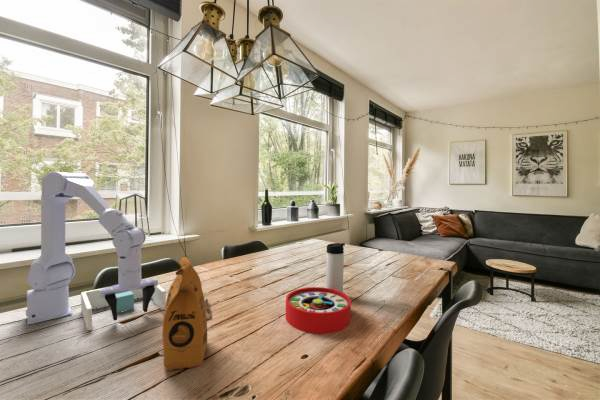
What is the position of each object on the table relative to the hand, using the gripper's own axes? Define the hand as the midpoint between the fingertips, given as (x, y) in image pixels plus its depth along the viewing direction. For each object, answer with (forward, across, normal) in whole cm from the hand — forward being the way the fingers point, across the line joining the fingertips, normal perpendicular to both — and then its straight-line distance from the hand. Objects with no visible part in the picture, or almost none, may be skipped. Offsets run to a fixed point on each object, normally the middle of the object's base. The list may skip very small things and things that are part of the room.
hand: (130, 314), depth 80 cm
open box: (+2, 0, +9) cm, 9 cm away
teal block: (+2, 0, +10) cm, 11 cm away
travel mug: (+2, +59, -30) cm, 66 cm away
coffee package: (+2, +6, -28) cm, 28 cm away
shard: (+2, +15, -8) cm, 18 cm away
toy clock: (+2, +43, -35) cm, 56 cm away
